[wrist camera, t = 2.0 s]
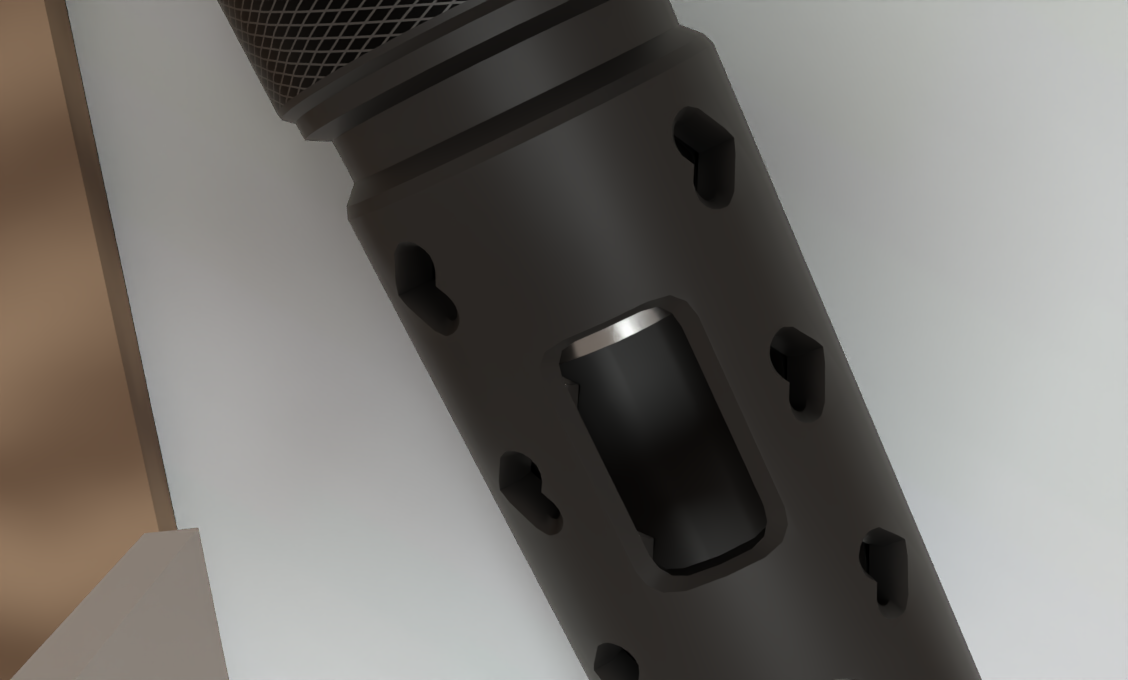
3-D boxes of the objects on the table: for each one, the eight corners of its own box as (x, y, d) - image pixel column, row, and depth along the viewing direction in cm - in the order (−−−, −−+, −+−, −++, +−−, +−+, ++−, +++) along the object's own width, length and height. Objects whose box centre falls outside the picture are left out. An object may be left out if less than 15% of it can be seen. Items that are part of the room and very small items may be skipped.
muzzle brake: (666, 749, 34) (710, 1031, 24) (234, -92, 28) (50, -183, 18) (945, 635, 33) (1111, 881, 23) (562, -264, 27) (562, -462, 17)
